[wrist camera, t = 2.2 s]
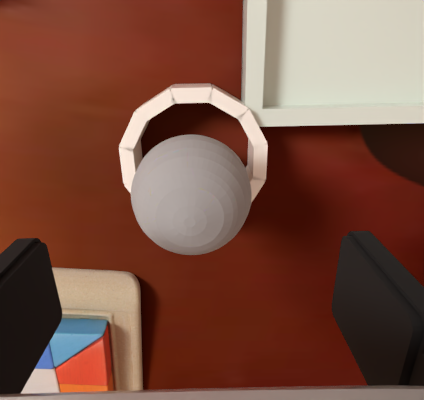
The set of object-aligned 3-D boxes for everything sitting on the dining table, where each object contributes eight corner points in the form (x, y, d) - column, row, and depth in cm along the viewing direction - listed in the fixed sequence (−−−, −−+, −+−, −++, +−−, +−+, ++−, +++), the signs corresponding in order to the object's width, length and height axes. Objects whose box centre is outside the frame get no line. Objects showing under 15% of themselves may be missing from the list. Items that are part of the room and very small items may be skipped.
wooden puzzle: (-34, 417, 33) (-60, 457, 30) (-88, 256, 25) (-130, 285, 22) (144, 422, 34) (138, 460, 31) (143, 268, 26) (135, 297, 23)
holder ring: (121, 85, 20) (111, 89, 18) (262, 82, 20) (270, 86, 18) (136, 212, 24) (129, 230, 21) (257, 209, 24) (263, 226, 21)
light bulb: (246, 122, 21) (279, 173, 12) (224, 198, 23) (237, 290, 14) (162, 100, 21) (130, 137, 11) (147, 180, 23) (109, 266, 14)
